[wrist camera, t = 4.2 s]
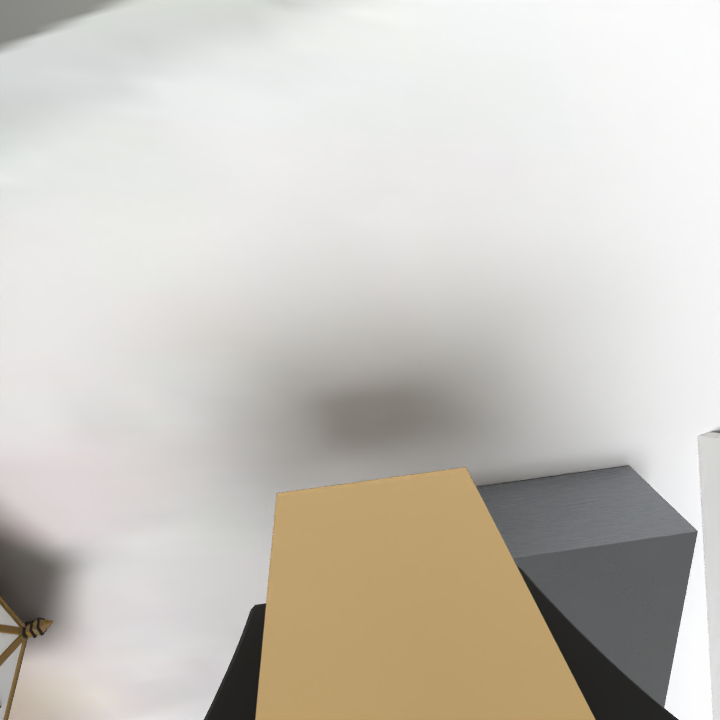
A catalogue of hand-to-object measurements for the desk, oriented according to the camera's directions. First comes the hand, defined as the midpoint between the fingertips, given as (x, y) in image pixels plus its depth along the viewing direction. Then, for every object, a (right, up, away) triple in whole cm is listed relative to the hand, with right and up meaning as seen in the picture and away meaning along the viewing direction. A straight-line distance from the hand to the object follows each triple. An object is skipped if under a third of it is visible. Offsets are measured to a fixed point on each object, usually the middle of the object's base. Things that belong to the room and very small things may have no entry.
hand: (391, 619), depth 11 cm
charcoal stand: (+6, -4, +12) cm, 14 cm away
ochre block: (0, +1, +2) cm, 2 cm away
